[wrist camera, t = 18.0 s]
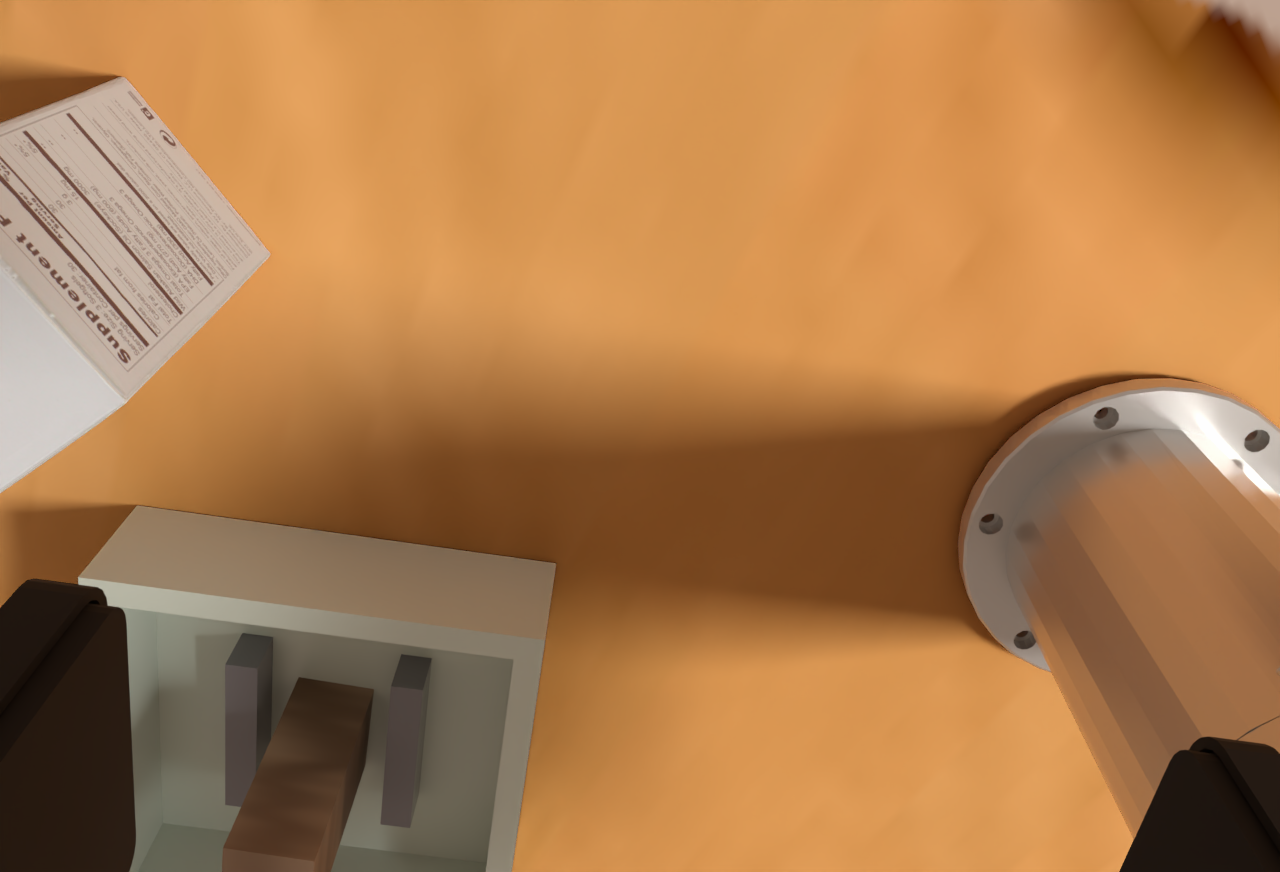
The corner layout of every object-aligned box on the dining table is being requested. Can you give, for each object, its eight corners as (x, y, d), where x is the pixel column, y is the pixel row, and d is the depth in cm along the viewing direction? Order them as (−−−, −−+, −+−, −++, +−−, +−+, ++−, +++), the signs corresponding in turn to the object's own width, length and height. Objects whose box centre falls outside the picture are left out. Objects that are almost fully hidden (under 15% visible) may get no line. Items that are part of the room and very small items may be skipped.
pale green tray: (556, 563, 45) (545, 640, 40) (512, 865, 52) (498, 959, 47) (136, 505, 44) (78, 577, 40) (149, 820, 51) (100, 912, 46)
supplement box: (124, 364, 42) (-76, 549, 30) (-32, 191, 39) (-316, 322, 28) (282, 255, 40) (132, 409, 28) (129, 66, 37) (-103, 152, 26)
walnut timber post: (374, 689, 46) (314, 861, 38) (365, 765, 48) (306, 946, 40) (298, 677, 46) (222, 847, 38) (292, 754, 48) (218, 933, 40)
